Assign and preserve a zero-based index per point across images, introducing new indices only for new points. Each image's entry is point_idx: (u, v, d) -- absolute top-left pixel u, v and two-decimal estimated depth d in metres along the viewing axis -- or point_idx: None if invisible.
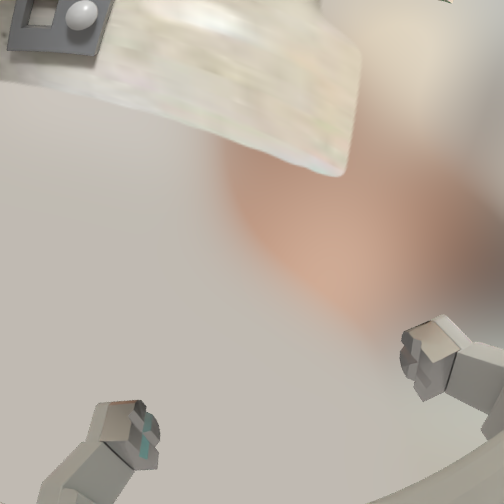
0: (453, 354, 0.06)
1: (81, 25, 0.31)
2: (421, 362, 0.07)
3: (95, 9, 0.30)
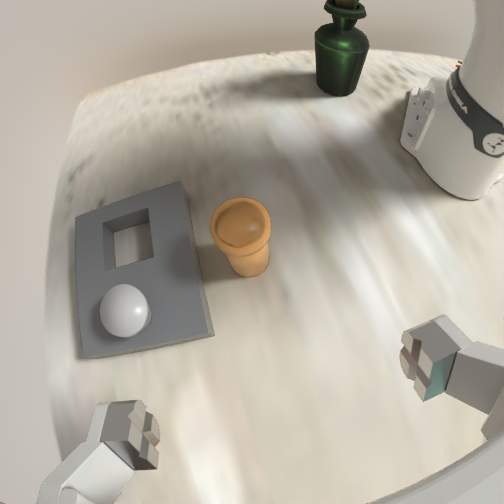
0: (453, 354, 0.06)
1: (107, 319, 0.27)
2: (421, 363, 0.07)
3: (135, 329, 0.27)
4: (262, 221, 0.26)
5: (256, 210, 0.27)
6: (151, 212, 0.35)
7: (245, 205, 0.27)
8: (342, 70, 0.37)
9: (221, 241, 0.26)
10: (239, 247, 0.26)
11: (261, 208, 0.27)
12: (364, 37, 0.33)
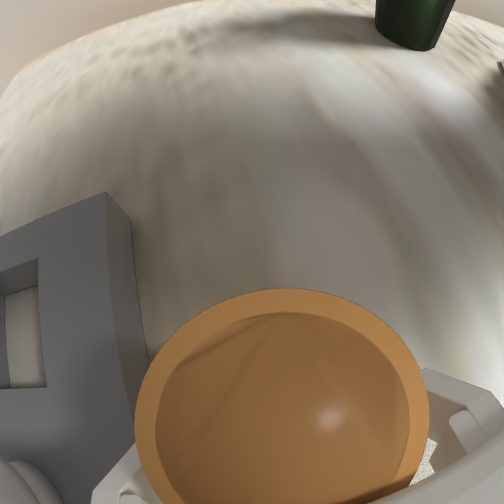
0: None
1: None
2: None
3: None
4: (394, 420, 0.04)
5: (367, 367, 0.05)
6: (42, 270, 0.12)
7: (311, 337, 0.05)
8: (428, 3, 0.15)
9: None
10: None
11: (391, 352, 0.05)
12: None
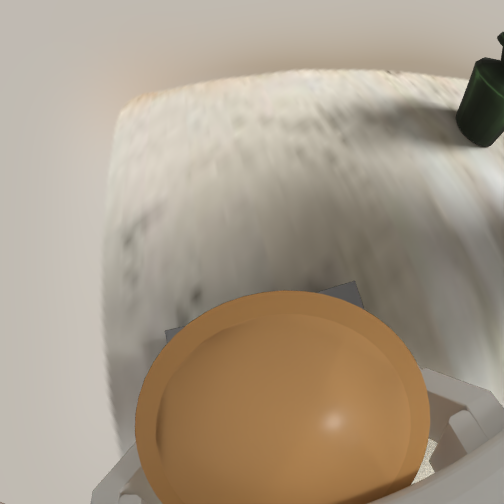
0: None
1: None
2: None
3: None
4: (395, 422, 0.04)
5: (367, 369, 0.05)
6: None
7: (312, 339, 0.05)
8: (502, 122, 0.24)
9: None
10: None
11: (392, 354, 0.05)
12: None
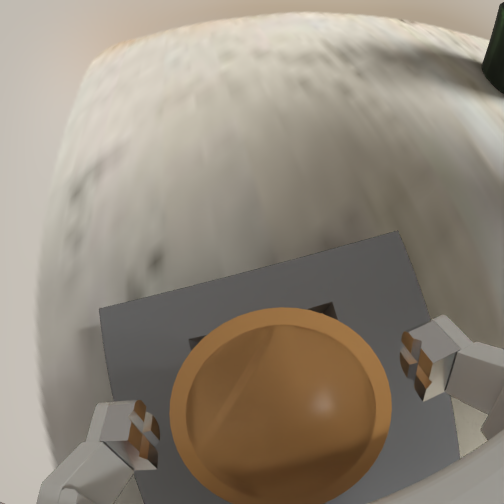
0: (453, 354, 0.06)
1: None
2: (422, 362, 0.07)
3: None
4: (364, 405, 0.06)
5: (342, 365, 0.06)
6: (345, 316, 0.13)
7: (301, 343, 0.07)
8: None
9: (214, 476, 0.06)
10: (280, 498, 0.05)
11: (361, 354, 0.07)
12: None
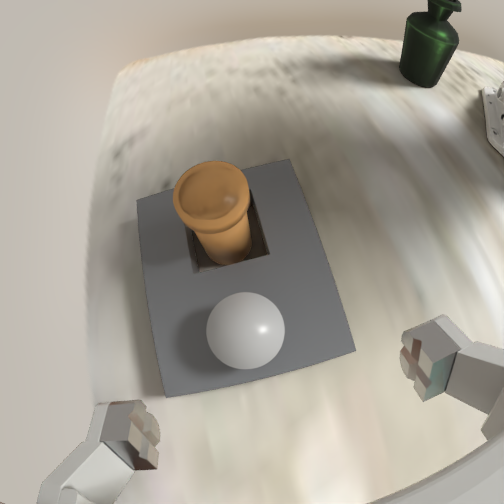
0: (453, 354, 0.06)
1: (221, 345, 0.20)
2: (422, 362, 0.07)
3: (271, 356, 0.19)
4: (238, 187, 0.20)
5: (230, 175, 0.21)
6: (256, 195, 0.27)
7: (217, 170, 0.21)
8: (435, 60, 0.30)
9: (185, 213, 0.20)
10: (207, 220, 0.20)
11: (237, 173, 0.21)
12: None
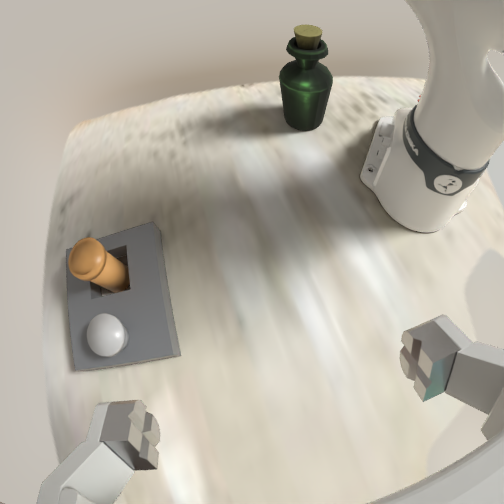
0: (453, 354, 0.06)
1: (93, 341, 0.33)
2: (422, 362, 0.07)
3: (115, 350, 0.32)
4: (96, 255, 0.33)
5: (94, 247, 0.33)
6: (128, 249, 0.40)
7: (89, 243, 0.34)
8: (305, 108, 0.42)
9: (73, 270, 0.33)
10: (81, 274, 0.32)
11: (98, 245, 0.34)
12: (327, 74, 0.39)
